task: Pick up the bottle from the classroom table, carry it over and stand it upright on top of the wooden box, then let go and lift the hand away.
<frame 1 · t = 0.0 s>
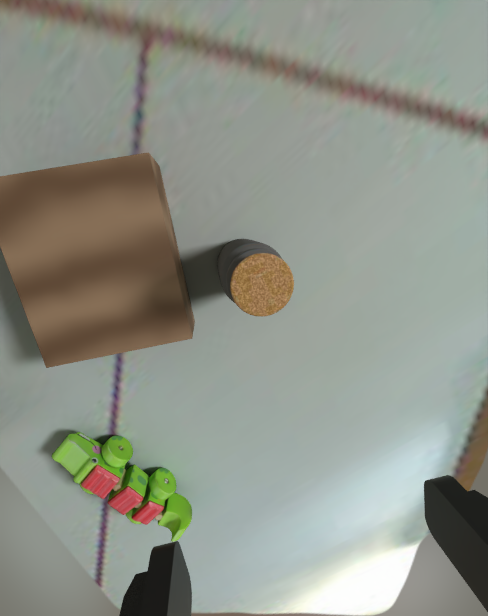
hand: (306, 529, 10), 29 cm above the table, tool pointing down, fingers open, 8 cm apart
bottle: (241, 263, 37), on the table
wooden box: (113, 260, 35), on the table
toy crocodile: (131, 467, 42), on the table
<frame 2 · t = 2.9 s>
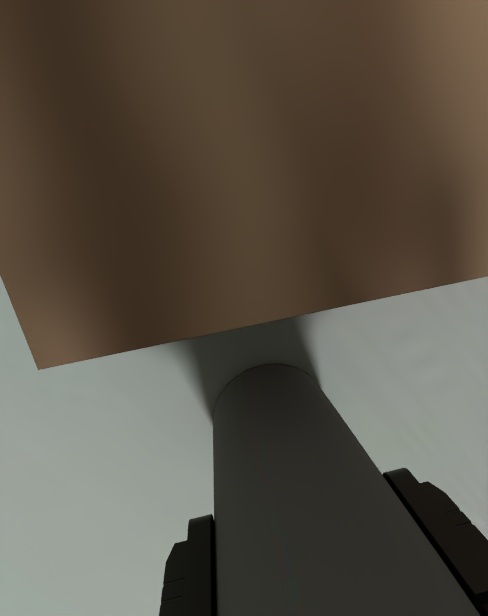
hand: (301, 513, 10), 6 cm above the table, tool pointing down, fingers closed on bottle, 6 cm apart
bottle: (269, 413, 16), on the table, touching gripper
wooden box: (287, 80, 12), on the table
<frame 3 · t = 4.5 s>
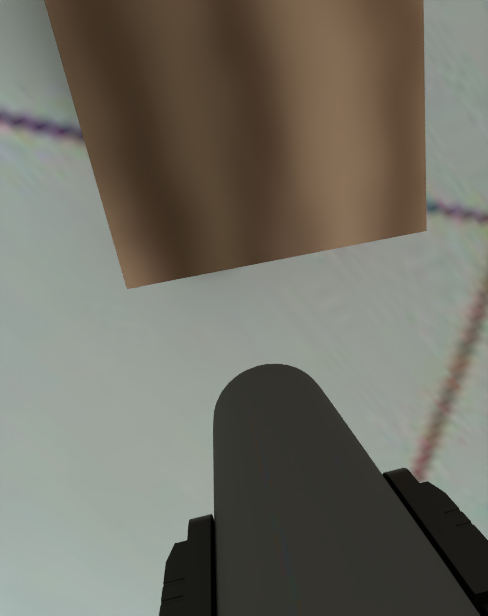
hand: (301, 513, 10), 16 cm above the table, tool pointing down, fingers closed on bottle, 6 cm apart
bottle: (269, 412, 16), point 10 cm above the table, touching gripper
wooden box: (246, 145, 22), on the table
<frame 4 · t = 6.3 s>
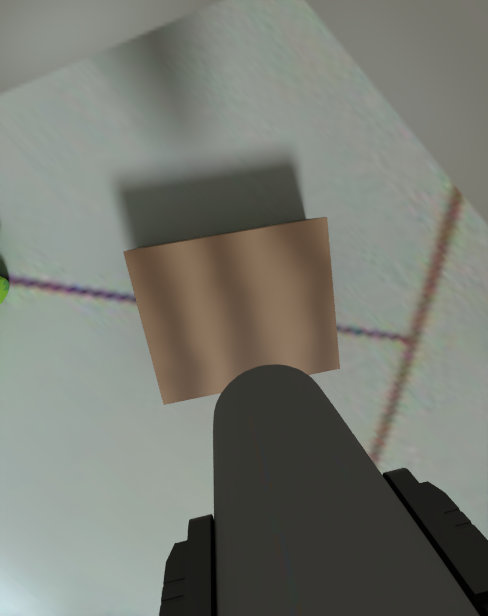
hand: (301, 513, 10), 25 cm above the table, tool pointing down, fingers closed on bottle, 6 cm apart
bottle: (269, 412, 16), point 20 cm above the table, touching gripper
wooden box: (235, 300, 34), on the table
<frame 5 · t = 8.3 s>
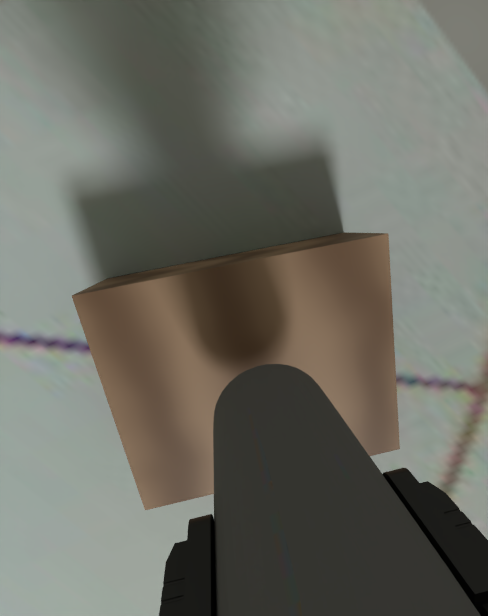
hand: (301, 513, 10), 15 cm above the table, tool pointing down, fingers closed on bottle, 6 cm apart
bottle: (269, 412, 16), point 9 cm above the table, touching gripper
wooden box: (246, 346, 25), on the table
when the fingers open (12 cm above the table, at t = 9.8 s): bottle stays where it is, resting on wooden box.
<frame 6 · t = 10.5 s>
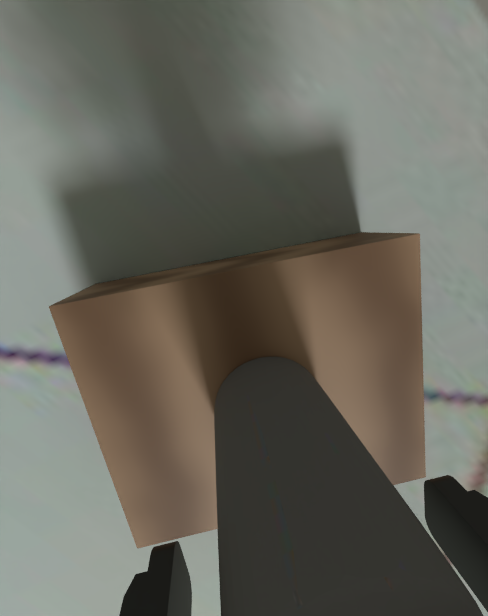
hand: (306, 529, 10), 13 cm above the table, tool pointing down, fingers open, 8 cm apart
bottle: (267, 403, 17), point 6 cm above the table, touching wooden box
wooden box: (251, 359, 22), on the table
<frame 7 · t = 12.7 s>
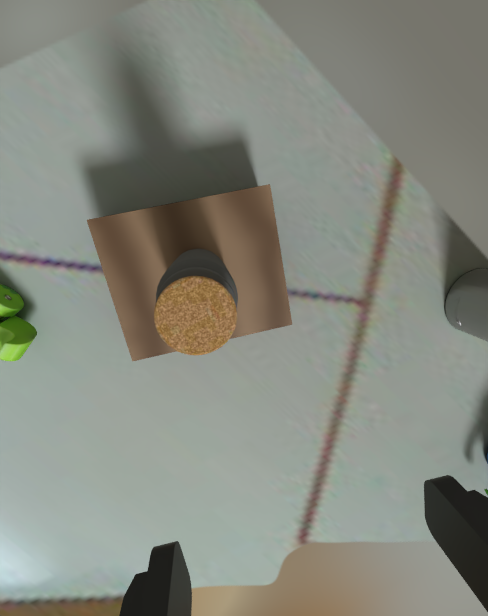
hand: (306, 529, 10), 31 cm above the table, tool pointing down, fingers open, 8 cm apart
bottle: (199, 276, 32), point 6 cm above the table, touching wooden box
wooden box: (199, 269, 37), on the table
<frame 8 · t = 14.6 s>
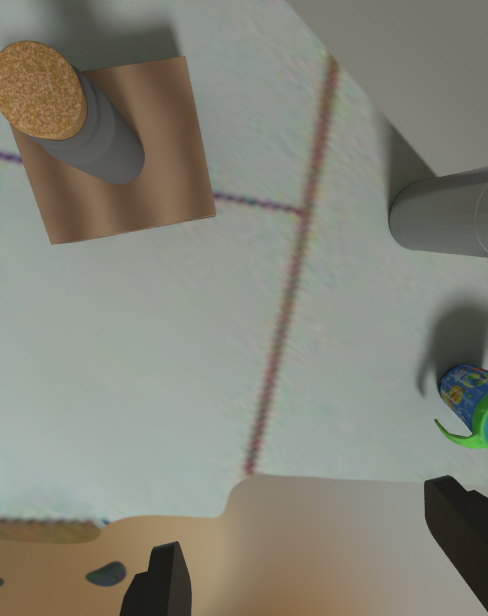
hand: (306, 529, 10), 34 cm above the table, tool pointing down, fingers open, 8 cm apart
snack cup: (457, 383, 51), on the table
bottle: (116, 155, 31), point 6 cm above the table, touching wooden box
wooden box: (129, 166, 37), on the table
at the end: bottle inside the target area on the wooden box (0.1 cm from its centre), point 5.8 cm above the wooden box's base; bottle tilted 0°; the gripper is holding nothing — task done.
